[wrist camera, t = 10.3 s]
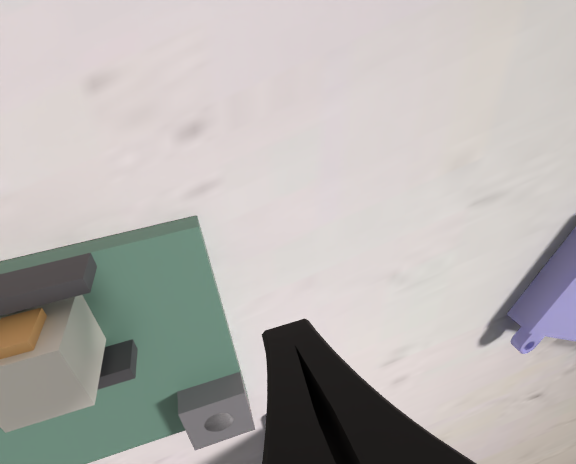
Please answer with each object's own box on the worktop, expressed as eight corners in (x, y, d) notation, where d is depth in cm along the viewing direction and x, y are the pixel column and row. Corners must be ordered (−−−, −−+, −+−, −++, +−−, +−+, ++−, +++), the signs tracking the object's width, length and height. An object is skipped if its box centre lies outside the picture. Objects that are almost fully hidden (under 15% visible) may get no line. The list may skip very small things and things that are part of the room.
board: (247, 393, 27) (256, 434, 24) (-10, 478, 24) (-32, 536, 21) (196, 215, 19) (202, 248, 16) (-200, 308, 16) (-273, 367, 13)
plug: (106, 339, 20) (94, 404, 16) (33, 359, 19) (5, 432, 16) (73, 279, 17) (52, 341, 14) (-11, 300, 17) (-53, 370, 13)
